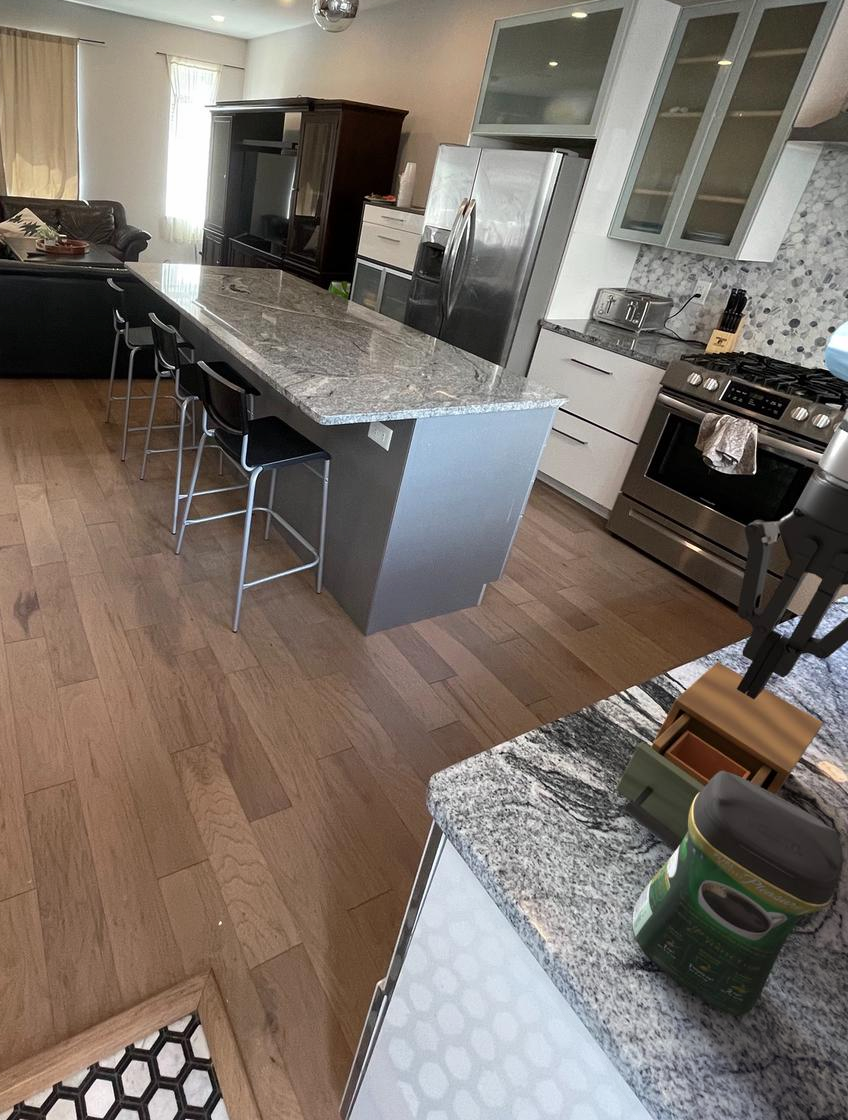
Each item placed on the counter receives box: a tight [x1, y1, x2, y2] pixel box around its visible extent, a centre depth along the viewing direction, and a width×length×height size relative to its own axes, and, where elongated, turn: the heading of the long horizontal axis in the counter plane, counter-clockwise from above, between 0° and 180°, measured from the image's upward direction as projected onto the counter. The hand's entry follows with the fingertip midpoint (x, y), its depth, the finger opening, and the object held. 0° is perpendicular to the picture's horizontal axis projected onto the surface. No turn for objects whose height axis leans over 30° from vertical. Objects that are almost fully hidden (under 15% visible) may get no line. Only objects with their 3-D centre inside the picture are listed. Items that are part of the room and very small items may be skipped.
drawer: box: [615, 712, 773, 852], centre depth 68 cm, size 17×10×7 cm, turn 127°
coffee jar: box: [631, 771, 844, 1016], centre depth 53 cm, size 10×8×19 cm
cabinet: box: [652, 661, 824, 796], centre depth 76 cm, size 14×12×9 cm
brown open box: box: [663, 730, 751, 786], centre depth 69 cm, size 6×6×5 cm
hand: (749, 689), depth 64 cm, fingers closed
